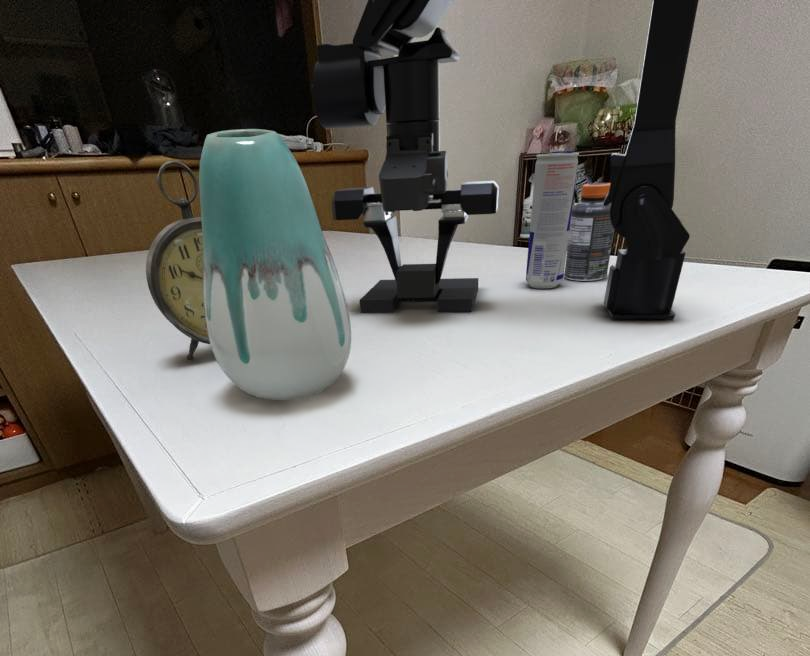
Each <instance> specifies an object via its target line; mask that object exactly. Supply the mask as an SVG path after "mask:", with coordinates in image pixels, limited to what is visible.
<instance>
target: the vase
mask: <svg viewBox="0 0 810 656" xmlns="http://www.w3.org/2000/svg"><path fill="white" fill-rule="evenodd" d="M198 174H199V175H198V176H199V177H198V179H199V180H198V182H199V200H200V201H199V202H200V218H201V220H202V238H203V267H202V277H203V300H204V311H205V319H206V327H207V332H208V338H209V342H210V344H209V345H210V349H211V351H212V354H213V356H214V358H215V360H216V362H217V364H218V366H219V367H220V369H221V370H222V372H223V373H224V374H225V376H226V377H227V378H228V380H230V381H231V382H232V383H233V384H235V386H236V387H237V388H239V389H240V390H242V391H243V392H244V393H246V394H249V395H251V396H253V397H256V398H259V399H264V400H271V401H272V400H273V401H286V400H288V401H289V400H296V399H302V398H306V397H309V396H314V395H315V394H318V393H320V392H323V391H324V390H326V389H327V388H329V387H330V386H332V385H334V383H335V382H336V381H337V380H338V379H339V378H340V376H341V375H342V373H343V371H344V370H345V367H346V365H347V363H348V361H349V356H350V352H351V349H352V348H351V347H352V323H351V319H350V313H349V309H348V303H347V299H346V296H345V292H344V289H343V285H342V283H341V279H340V275H339V273H338V272H339V271H338V270H337V266H336V264H335V260H334V258H333V255H332V252H331V250H330V248H329V246H328V243H327V241H326V238H325V235H324V233H323V230H322V227H321V224H320V220H319V218H318V214H317V211H316V209H315V205H314V201H313V199H312V196H311V193H310V189H309V187H308V185H307V181H306V178H305V177H304V174H303V172H302V170H301V167H300V165H299V164H298V162H297V160H296V158H295V156H294V155H293V153H292V151H291V150H290V148H289V147H288V145H287V144H286V142H285V141H284V139H283V138H282V137H281V136H280V134H278V133H277V131H275V130H268V129H260V128H243V129H241V128H240V129H228V130H226V129H225V130H221V131H215V132H211V133H209V134H206V136H205V139H204V142H203V146H202V150H201V154H200V161H199V173H198Z"/></svg>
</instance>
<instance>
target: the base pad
mask: <svg viewBox="0 0 810 656" xmlns="http://www.w3.org/2000/svg"><path fill="white" fill-rule="evenodd" d="M478 292H479V277H468V278H467V277H465V278H464V277H462V278H455V277H453V278H441V279H440V282H439V290H438V292H437V293H436V295H435V297H434V298H398V297H397V283H396V280H395V279H379V280H378V281H377V282H376V283H375V285H373V286H372V287H371V288H370V289H369V290H368V291H367V292H366V293H365V294H364V295H363V296H362V297H361V298H360V299H359V307H360V313H362V314H363V313H364V314H365V313H366V314H367V313H373V314H375V313H377V314H379V313H394V312H395V311H396V310H397V308H398V307H399V305H400V304H401V303H402V302H437V303H436V305H437V307H436V309H437V310H436V311H437V313H471V312H473V308H474V304H475V301H476V298H477V295H478Z"/></svg>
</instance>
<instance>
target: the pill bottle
mask: <svg viewBox="0 0 810 656" xmlns="http://www.w3.org/2000/svg"><path fill="white" fill-rule="evenodd" d="M609 188H610V182H592V183H590V182H589V183H586V184H583V185H582V188H581V193H580V201H579V202H578V203H576V204H575V205H574V206H572V214H571V222H570V230H569V238H568V246H567V253H566V261H565V269H564V277H565V278H566V279H567V280H570V281H578V282H591V281H600V280H602V279H604V278H606V277H607V276H608V272H609V271H608V269H609V265H610V257H611V251H612V246H613V239H614V232H615V229H614V228H613V226H612V224H611V220H610V207H611V203H610V204H608V205H607V206H604V201H605V197H606V195H607V193H608V191H609Z"/></svg>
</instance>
